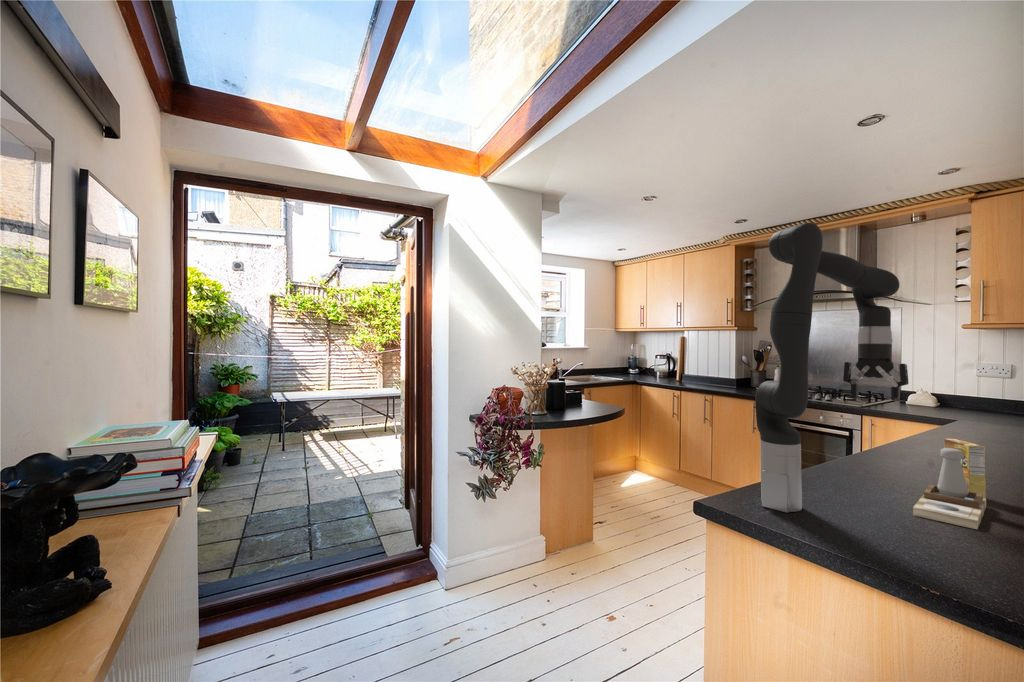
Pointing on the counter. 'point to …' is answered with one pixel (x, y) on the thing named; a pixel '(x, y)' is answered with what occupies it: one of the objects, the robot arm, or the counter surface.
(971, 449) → the candy box
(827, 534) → the counter surface
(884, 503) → the counter surface
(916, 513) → the beige organizer tray
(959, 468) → the salt shaker
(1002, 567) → the counter surface
